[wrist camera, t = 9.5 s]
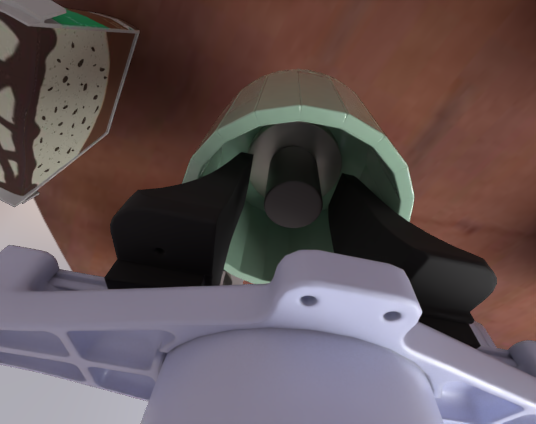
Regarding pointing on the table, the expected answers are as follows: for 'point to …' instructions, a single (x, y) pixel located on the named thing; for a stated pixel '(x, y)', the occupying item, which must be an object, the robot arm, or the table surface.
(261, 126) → the cup
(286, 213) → the lid
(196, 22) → the table surface
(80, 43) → the food container
